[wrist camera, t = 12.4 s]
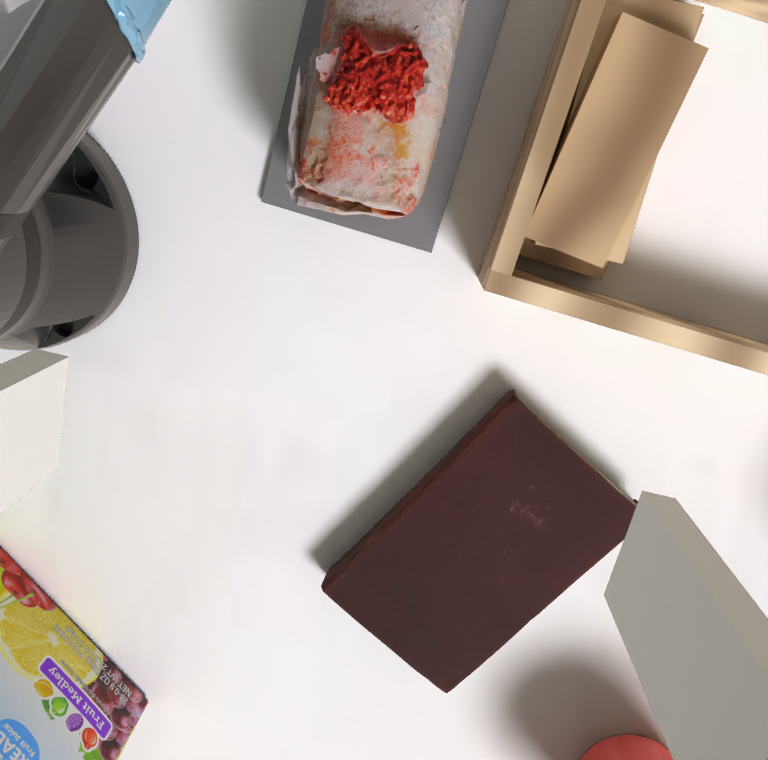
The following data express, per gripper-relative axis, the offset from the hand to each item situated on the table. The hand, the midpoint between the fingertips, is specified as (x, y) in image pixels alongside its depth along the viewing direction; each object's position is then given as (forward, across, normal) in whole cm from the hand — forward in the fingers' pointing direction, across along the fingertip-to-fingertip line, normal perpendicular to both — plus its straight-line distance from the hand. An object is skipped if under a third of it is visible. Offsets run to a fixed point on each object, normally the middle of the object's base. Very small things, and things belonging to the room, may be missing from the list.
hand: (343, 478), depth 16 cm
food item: (+30, +4, -11) cm, 32 cm away
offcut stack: (+30, -10, -11) cm, 33 cm away
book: (+31, -10, +16) cm, 36 cm away
